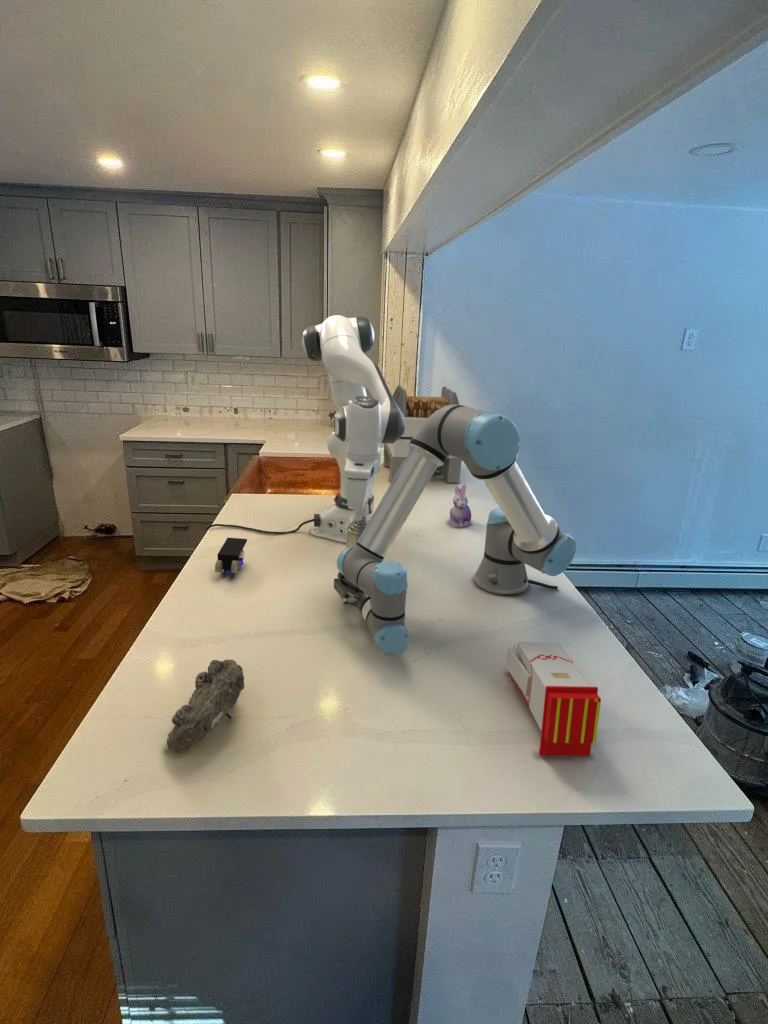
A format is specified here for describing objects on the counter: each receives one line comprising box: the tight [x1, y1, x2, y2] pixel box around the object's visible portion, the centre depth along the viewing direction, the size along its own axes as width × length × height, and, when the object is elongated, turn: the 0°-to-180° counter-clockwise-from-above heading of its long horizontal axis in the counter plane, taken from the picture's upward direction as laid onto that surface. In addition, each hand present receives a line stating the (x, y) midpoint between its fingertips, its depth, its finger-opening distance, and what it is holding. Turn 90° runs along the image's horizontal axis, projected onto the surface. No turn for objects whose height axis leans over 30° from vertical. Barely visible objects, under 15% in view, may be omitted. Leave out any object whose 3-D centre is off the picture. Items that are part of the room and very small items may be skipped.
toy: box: [505, 641, 602, 757], centre depth 113 cm, size 12×13×30 cm
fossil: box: [166, 658, 245, 754], centre depth 106 cm, size 22×10×15 cm
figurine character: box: [214, 537, 248, 578], centre depth 166 cm, size 7×8×15 cm
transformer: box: [383, 384, 463, 484], centre depth 268 cm, size 34×33×41 cm
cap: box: [354, 503, 369, 516], centre depth 146 cm, size 4×4×2 cm
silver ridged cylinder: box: [345, 516, 369, 605], centre depth 151 cm, size 8×8×26 cm
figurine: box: [448, 483, 472, 528], centre depth 209 cm, size 9×10×15 cm
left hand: (361, 514), depth 147 cm, fingers open, 6 cm apart
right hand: (355, 568), depth 157 cm, fingers closed on silver ridged cylinder, 8 cm apart
